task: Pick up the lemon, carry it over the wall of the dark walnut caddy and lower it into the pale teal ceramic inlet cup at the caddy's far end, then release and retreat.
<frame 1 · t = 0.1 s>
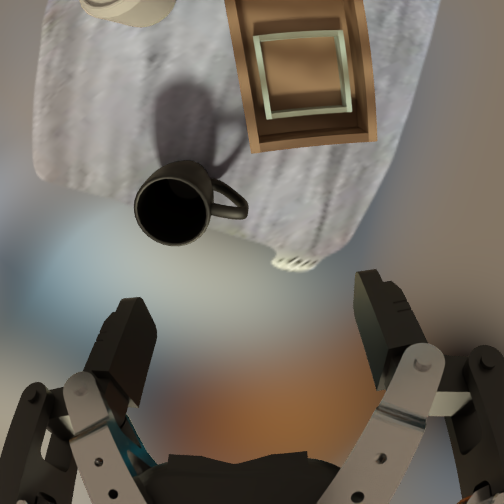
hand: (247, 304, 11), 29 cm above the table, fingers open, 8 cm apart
can: (148, 1, 26), on the table
caddy: (297, 48, 30), on the table
mug: (202, 181, 39), on the table
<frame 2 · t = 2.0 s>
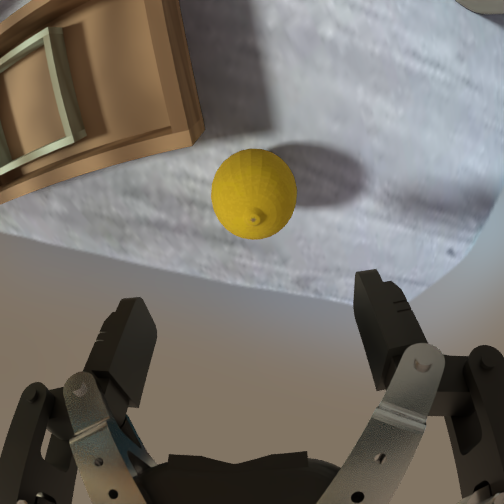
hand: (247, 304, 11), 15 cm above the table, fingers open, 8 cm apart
lemon: (254, 171, 24), on the table
caddy: (61, 87, 19), on the table
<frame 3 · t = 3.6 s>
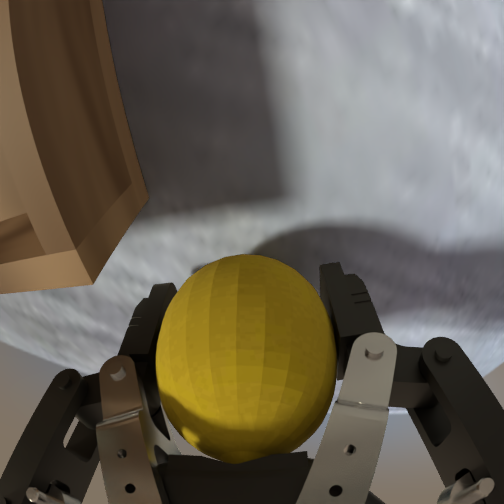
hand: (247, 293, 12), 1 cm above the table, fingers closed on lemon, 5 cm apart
lemon: (248, 271, 13), on the table, touching gripper
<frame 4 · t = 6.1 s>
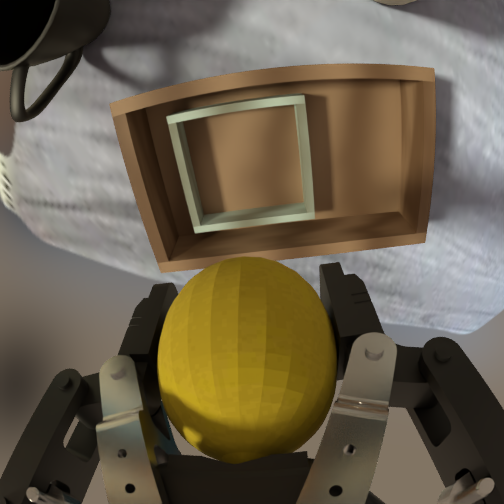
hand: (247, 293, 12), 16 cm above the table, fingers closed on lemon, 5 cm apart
lemon: (248, 273, 13), point 15 cm above the table, touching gripper
caddy: (282, 152, 24), on the table
mug: (81, 37, 18), on the table
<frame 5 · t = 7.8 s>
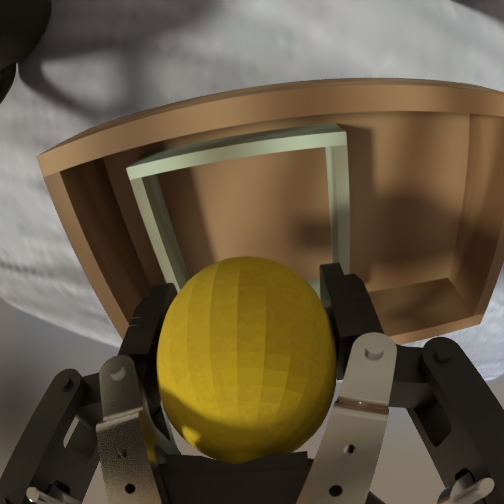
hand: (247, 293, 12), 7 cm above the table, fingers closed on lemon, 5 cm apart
lemon: (248, 273, 13), point 5 cm above the table, touching gripper
caddy: (304, 208, 17), on the table
mug: (17, 50, 11), on the table
when the fingers open (4 cm above the table, at t = 8.8 s): lemon drops 2 cm, resting on caddy.
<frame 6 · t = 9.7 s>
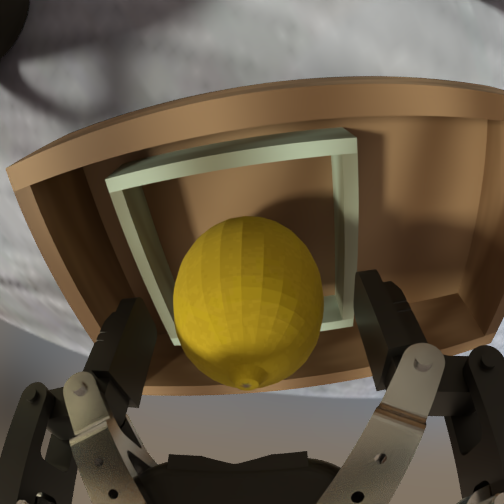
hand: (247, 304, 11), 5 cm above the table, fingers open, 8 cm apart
lemon: (249, 238, 15), point 1 cm above the table, touching caddy
caddy: (306, 221, 16), on the table
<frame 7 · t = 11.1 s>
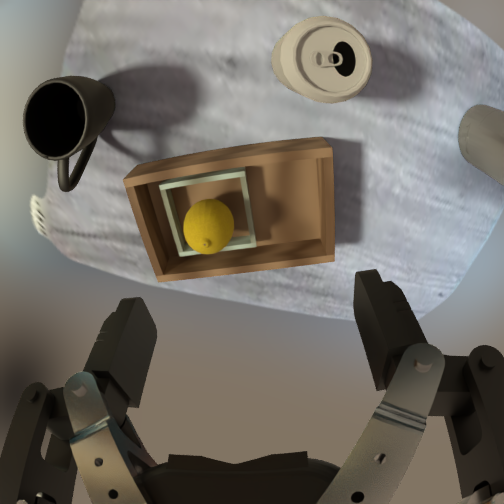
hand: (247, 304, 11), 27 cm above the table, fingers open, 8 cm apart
lemon: (212, 209, 38), point 1 cm above the table, touching caddy
can: (304, 61, 29), on the table
caddy: (235, 202, 38), on the table
mug: (95, 119, 32), on the table
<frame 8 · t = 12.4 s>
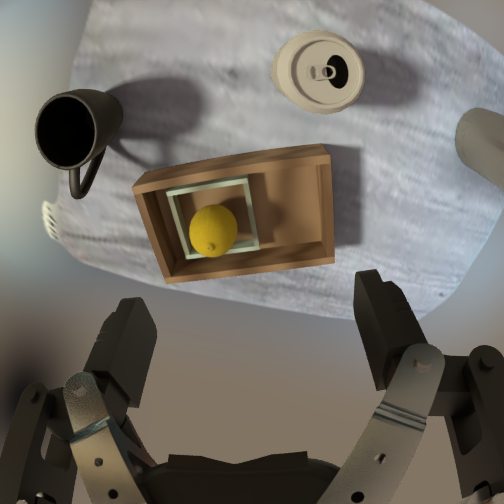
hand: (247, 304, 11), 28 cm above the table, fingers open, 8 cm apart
lemon: (217, 213, 40), point 1 cm above the table, touching caddy
can: (303, 71, 31), on the table
caddy: (239, 207, 40), on the table
mug: (104, 129, 34), on the table
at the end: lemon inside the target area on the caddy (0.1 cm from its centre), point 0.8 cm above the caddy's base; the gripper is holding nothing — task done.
